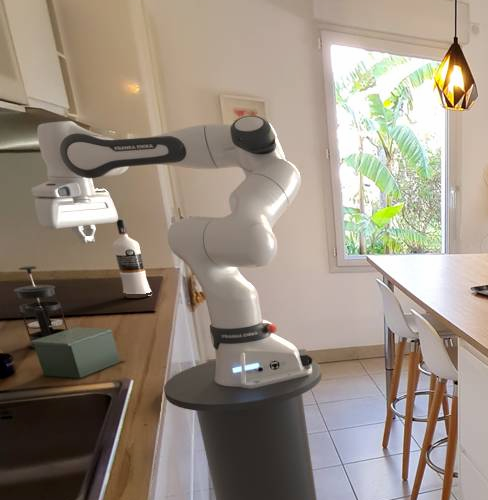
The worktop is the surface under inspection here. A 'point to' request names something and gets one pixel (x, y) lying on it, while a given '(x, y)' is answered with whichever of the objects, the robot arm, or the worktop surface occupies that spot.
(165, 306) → the worktop surface
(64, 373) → the green box
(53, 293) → the french press
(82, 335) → the lid
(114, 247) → the vodka
